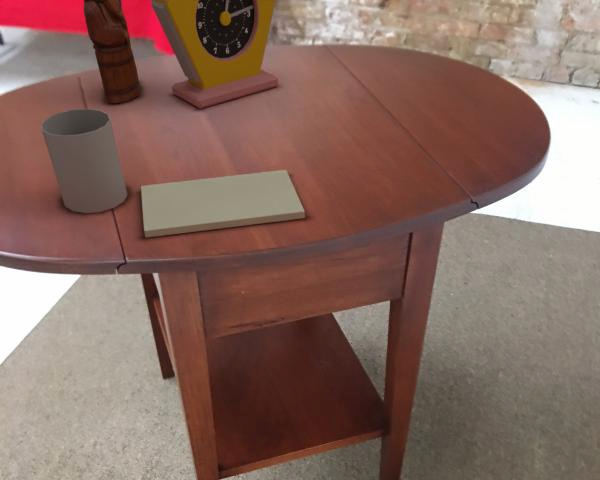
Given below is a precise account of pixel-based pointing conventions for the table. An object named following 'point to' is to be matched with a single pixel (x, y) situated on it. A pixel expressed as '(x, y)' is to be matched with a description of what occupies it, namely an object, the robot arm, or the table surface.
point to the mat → (219, 203)
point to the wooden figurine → (112, 49)
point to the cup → (85, 159)
